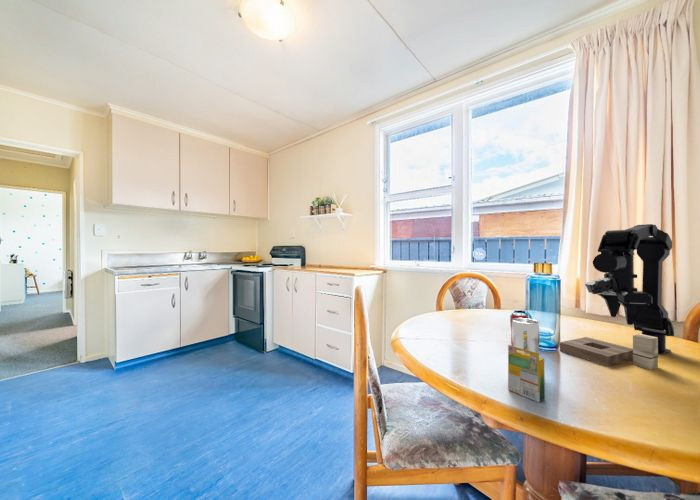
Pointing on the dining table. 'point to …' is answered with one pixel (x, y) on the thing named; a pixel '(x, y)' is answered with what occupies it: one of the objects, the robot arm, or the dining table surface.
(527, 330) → the white box
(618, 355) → the walnut board
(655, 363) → the maple peg
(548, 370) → the dining table surface
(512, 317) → the beverage can
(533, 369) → the crayon box
